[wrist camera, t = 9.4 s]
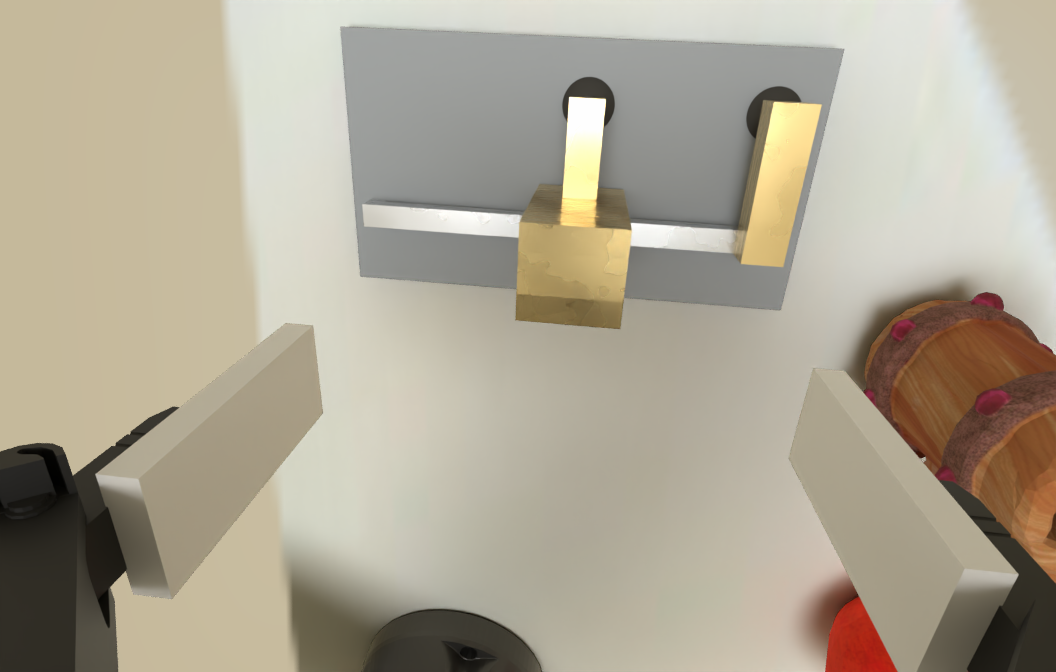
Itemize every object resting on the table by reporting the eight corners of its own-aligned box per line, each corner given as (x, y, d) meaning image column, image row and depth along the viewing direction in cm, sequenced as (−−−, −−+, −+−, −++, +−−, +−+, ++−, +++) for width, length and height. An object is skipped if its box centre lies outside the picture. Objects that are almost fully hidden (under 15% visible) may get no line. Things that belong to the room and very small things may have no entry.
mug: (885, 259, 32) (1100, 402, 18) (1036, 289, 31) (1368, 455, 18) (789, 472, 38) (895, 696, 24) (914, 498, 38) (1093, 739, 24)
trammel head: (535, 261, 32) (515, 320, 25) (544, 93, 29) (523, 101, 21) (615, 266, 32) (620, 329, 24) (633, 97, 28) (646, 108, 21)
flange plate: (367, 270, 35) (360, 276, 34) (349, 28, 30) (339, 26, 29) (774, 302, 33) (781, 310, 32) (834, 49, 28) (845, 48, 27)
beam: (373, 220, 33) (350, 234, 30) (363, 78, 30) (338, 79, 27) (775, 249, 31) (793, 268, 28) (809, 101, 28) (833, 105, 25)
